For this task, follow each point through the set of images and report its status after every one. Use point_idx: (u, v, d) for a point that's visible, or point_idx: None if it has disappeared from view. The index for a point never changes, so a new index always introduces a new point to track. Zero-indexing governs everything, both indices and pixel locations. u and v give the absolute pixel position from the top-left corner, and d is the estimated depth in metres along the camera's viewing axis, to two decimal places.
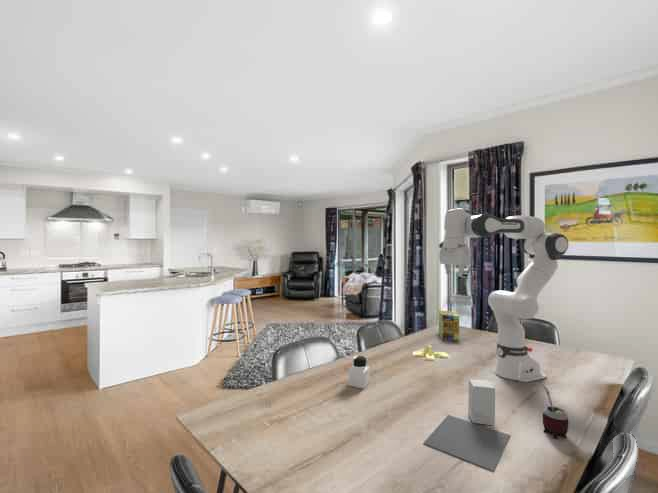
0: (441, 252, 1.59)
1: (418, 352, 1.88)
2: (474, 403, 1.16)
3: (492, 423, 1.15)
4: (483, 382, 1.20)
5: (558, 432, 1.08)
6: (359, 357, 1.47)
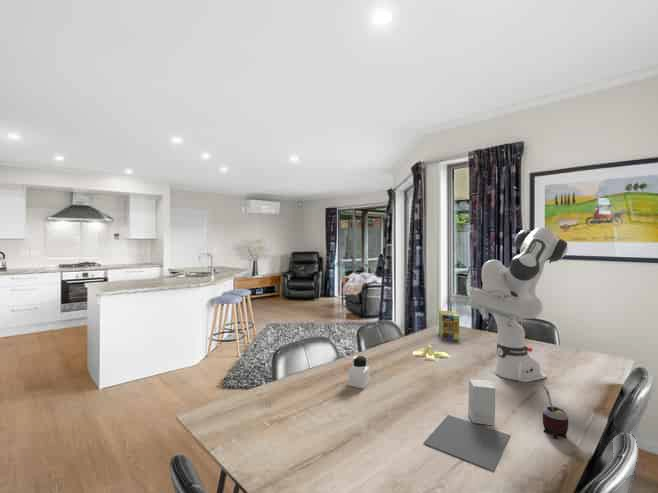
0: None
1: (418, 352, 1.88)
2: (474, 403, 1.16)
3: (492, 423, 1.15)
4: (483, 382, 1.20)
5: (558, 432, 1.08)
6: (359, 357, 1.47)
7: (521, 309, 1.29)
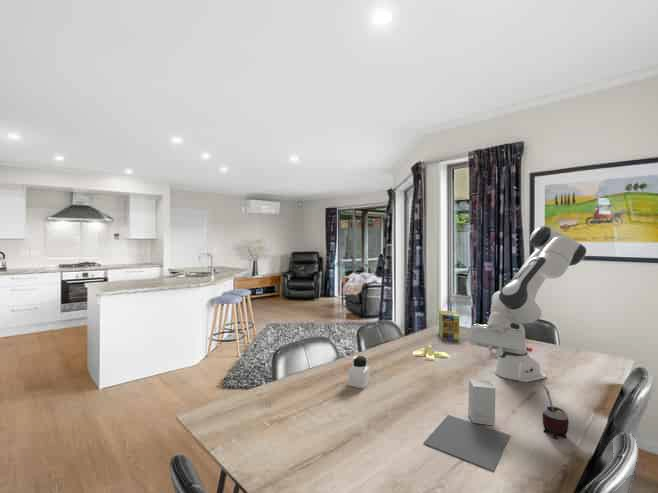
0: None
1: (418, 352, 1.88)
2: (474, 403, 1.16)
3: (492, 423, 1.15)
4: (483, 383, 1.19)
5: (558, 432, 1.08)
6: (359, 357, 1.47)
7: (522, 341, 1.26)
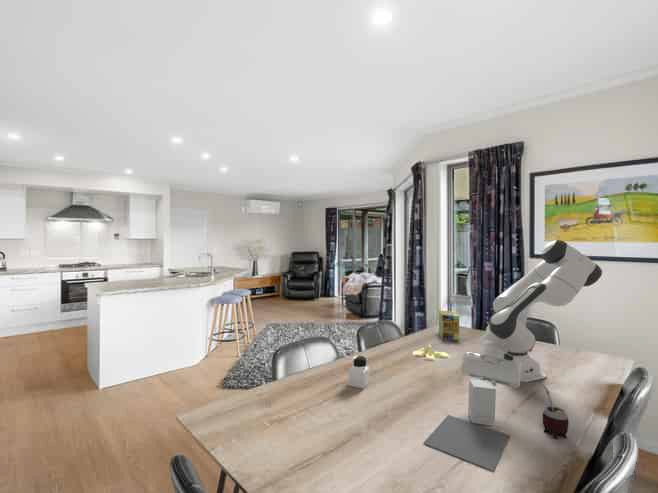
0: None
1: (418, 352, 1.88)
2: (474, 403, 1.16)
3: (492, 423, 1.15)
4: (483, 383, 1.19)
5: (558, 432, 1.08)
6: (359, 357, 1.47)
7: (515, 374, 1.21)
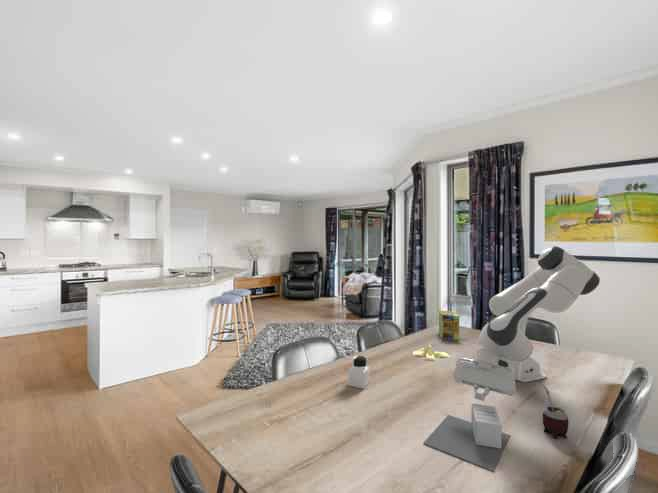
0: None
1: (418, 352, 1.88)
2: None
3: None
4: (491, 434, 1.02)
5: (558, 432, 1.08)
6: (359, 357, 1.47)
7: (510, 381, 1.14)
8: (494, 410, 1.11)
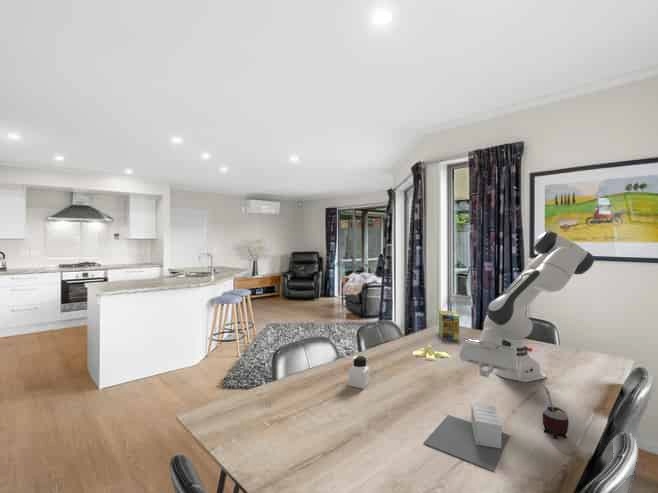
0: None
1: (418, 352, 1.88)
2: None
3: None
4: (490, 434, 1.02)
5: (558, 432, 1.08)
6: (359, 357, 1.47)
7: (512, 359, 1.23)
8: (494, 410, 1.11)
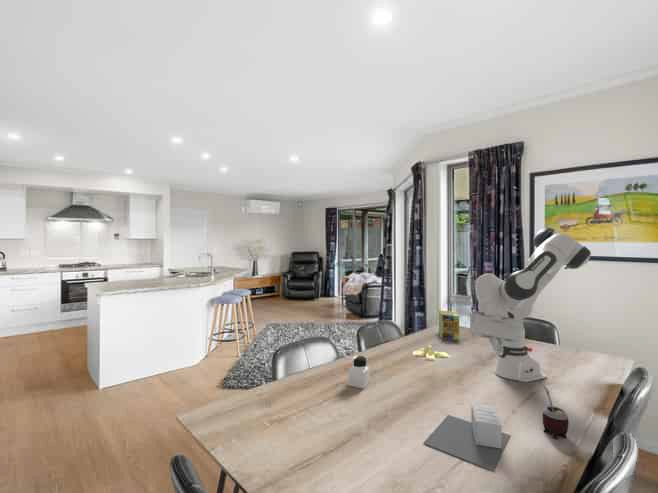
0: None
1: (418, 352, 1.88)
2: None
3: None
4: (490, 434, 1.02)
5: (558, 432, 1.08)
6: (359, 357, 1.47)
7: (517, 331, 1.27)
8: (494, 410, 1.11)
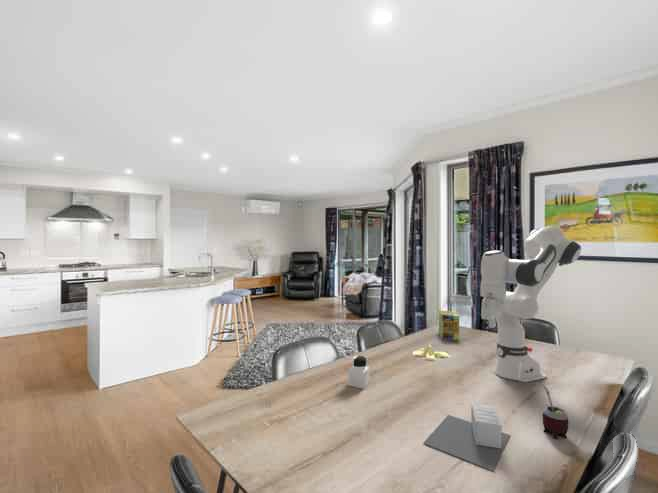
0: None
1: (418, 352, 1.88)
2: None
3: None
4: (490, 434, 1.02)
5: (558, 432, 1.08)
6: (359, 357, 1.47)
7: (503, 304, 1.38)
8: (494, 410, 1.11)
